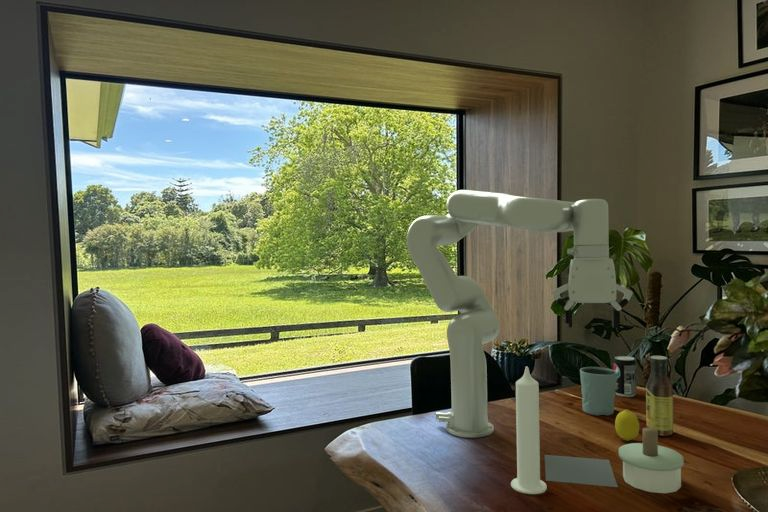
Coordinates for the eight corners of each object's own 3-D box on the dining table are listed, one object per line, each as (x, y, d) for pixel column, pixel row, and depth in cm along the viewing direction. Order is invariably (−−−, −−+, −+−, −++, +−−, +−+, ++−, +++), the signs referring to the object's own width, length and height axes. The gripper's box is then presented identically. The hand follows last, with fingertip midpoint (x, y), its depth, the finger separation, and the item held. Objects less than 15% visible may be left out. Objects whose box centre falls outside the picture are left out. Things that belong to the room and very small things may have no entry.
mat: (545, 482, 113) (545, 480, 113) (544, 456, 126) (544, 454, 126) (618, 489, 109) (618, 487, 109) (608, 461, 123) (608, 459, 123)
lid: (623, 468, 107) (623, 438, 107) (614, 445, 119) (614, 418, 119) (691, 473, 104) (690, 442, 104) (674, 450, 116) (674, 422, 116)
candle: (540, 479, 114) (538, 362, 114) (551, 495, 107) (549, 370, 107) (507, 480, 114) (505, 363, 113) (516, 496, 107) (514, 371, 106)
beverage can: (613, 391, 179) (613, 355, 178) (635, 393, 176) (635, 356, 176) (614, 396, 172) (613, 359, 172) (637, 398, 170) (636, 360, 170)
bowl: (628, 491, 108) (627, 466, 108) (620, 470, 118) (620, 447, 118) (686, 497, 105) (686, 471, 105) (672, 474, 115) (672, 451, 115)
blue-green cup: (573, 408, 162) (572, 368, 162) (601, 404, 165) (600, 365, 165) (596, 418, 152) (595, 376, 152) (625, 414, 155) (625, 372, 155)
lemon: (642, 446, 131) (641, 413, 131) (617, 445, 132) (617, 412, 132) (636, 438, 137) (635, 406, 136) (612, 436, 138) (612, 405, 137)
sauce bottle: (649, 427, 144) (649, 353, 144) (675, 431, 140) (675, 355, 140) (643, 434, 139) (642, 357, 139) (670, 439, 135) (669, 360, 135)
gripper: (552, 254, 123) (553, 329, 123) (635, 252, 118) (635, 330, 119) (551, 253, 130) (552, 324, 130) (629, 252, 125) (630, 325, 126)
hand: (592, 327), depth 125 cm, fingers open, 9 cm apart
